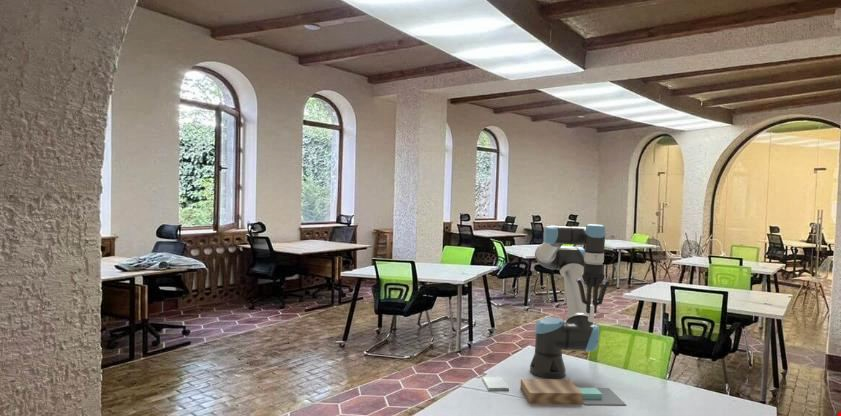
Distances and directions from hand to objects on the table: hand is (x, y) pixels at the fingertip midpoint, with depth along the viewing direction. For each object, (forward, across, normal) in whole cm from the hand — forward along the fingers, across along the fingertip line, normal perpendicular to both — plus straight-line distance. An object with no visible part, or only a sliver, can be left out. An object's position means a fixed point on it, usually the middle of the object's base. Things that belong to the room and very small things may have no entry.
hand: (590, 321), depth 213 cm
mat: (+28, +1, -8) cm, 29 cm away
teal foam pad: (+27, -2, -9) cm, 29 cm away
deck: (+28, -17, -10) cm, 34 cm away
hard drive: (+28, -37, 0) cm, 47 cm away
